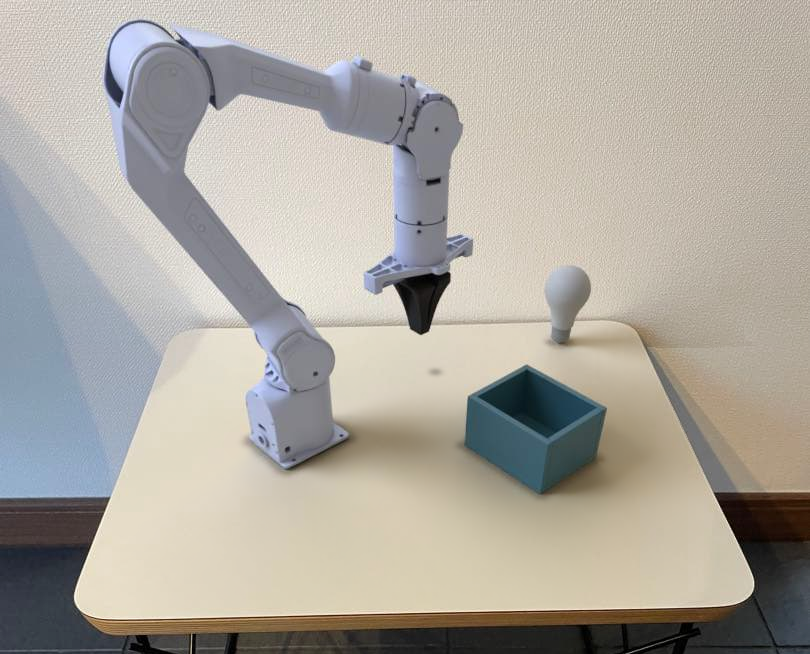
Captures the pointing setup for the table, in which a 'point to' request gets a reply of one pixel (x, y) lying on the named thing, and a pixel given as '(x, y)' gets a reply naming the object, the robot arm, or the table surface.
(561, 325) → the lightbulb
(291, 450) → the robot arm
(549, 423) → the teal open box
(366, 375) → the table surface
